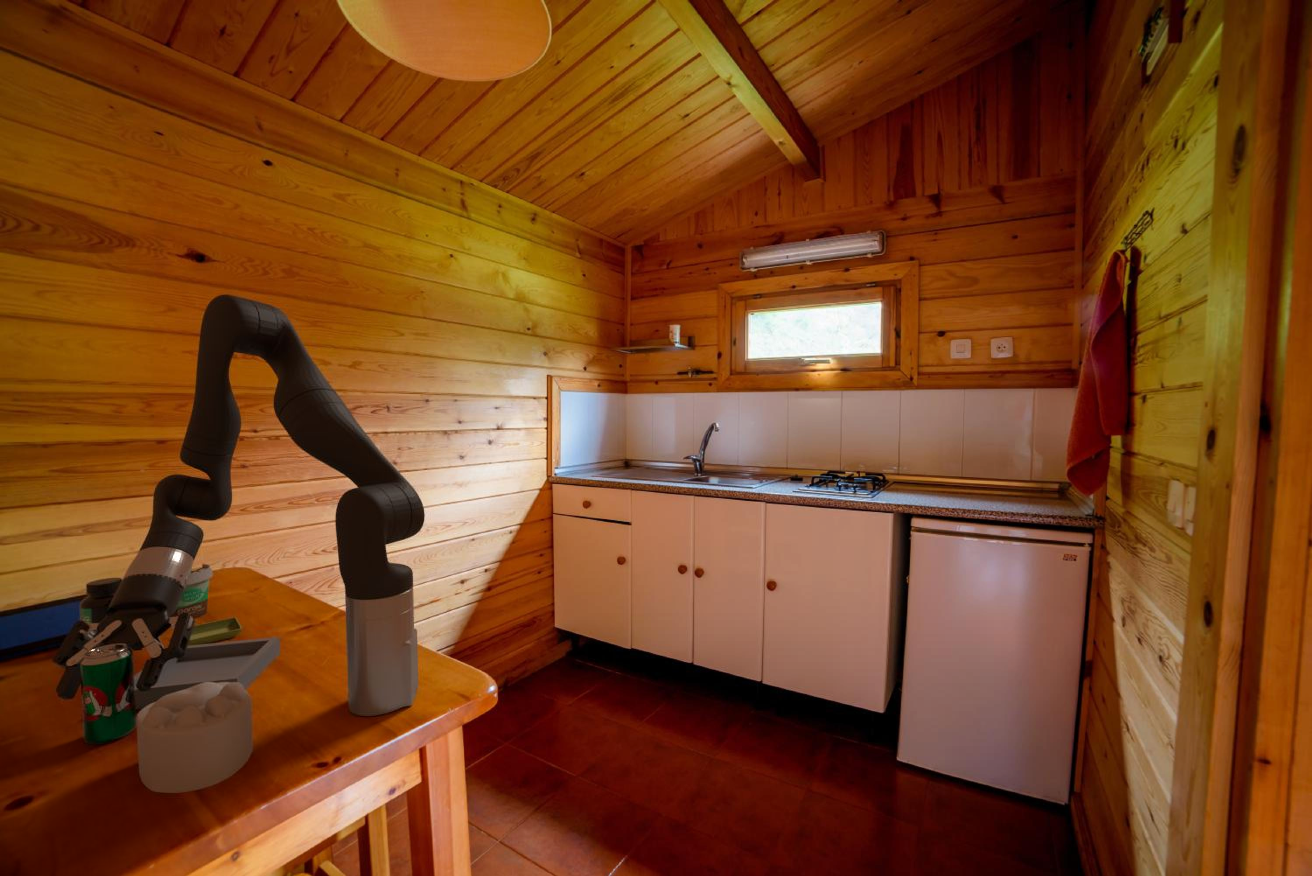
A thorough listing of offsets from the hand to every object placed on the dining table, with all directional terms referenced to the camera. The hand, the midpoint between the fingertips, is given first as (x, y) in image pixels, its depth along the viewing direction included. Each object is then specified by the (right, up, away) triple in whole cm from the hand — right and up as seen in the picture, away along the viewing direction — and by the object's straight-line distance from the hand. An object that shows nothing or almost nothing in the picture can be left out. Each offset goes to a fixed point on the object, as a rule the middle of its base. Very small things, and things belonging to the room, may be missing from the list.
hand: (104, 693), depth 73 cm
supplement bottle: (-31, -5, +31) cm, 44 cm away
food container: (-26, -4, +44) cm, 51 cm away
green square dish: (-13, -5, +34) cm, 37 cm away
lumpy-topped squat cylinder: (+17, -7, -5) cm, 19 cm away
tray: (0, -5, +17) cm, 17 cm away
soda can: (0, -6, +1) cm, 7 cm away
